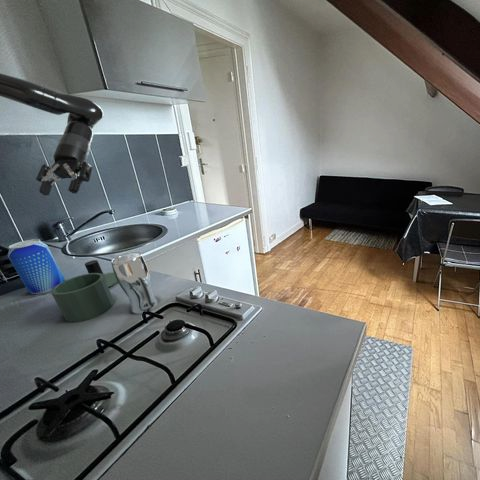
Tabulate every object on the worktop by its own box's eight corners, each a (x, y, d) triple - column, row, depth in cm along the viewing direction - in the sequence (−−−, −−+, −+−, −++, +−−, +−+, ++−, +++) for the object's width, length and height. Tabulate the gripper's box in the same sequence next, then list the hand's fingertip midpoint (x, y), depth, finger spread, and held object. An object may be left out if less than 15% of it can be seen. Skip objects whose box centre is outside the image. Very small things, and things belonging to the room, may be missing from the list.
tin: (66, 328, 65) (50, 299, 61) (65, 310, 72) (51, 283, 69) (116, 308, 71) (104, 282, 68) (111, 293, 78) (101, 269, 75)
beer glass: (127, 318, 67) (105, 267, 61) (133, 303, 73) (113, 255, 67) (158, 310, 69) (139, 260, 63) (161, 296, 75) (144, 249, 69)
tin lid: (78, 299, 76) (66, 275, 73) (77, 285, 84) (66, 263, 81) (124, 284, 83) (115, 261, 80) (119, 272, 91) (111, 251, 88)
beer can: (66, 279, 88) (44, 235, 82) (67, 288, 83) (43, 242, 76) (31, 290, 83) (5, 244, 77) (30, 300, 77) (1, 251, 71)
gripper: (39, 144, 82) (21, 187, 76) (85, 141, 82) (70, 184, 76) (61, 160, 89) (46, 201, 83) (104, 157, 89) (91, 198, 83)
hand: (58, 193), depth 79 cm, fingers open, 8 cm apart
